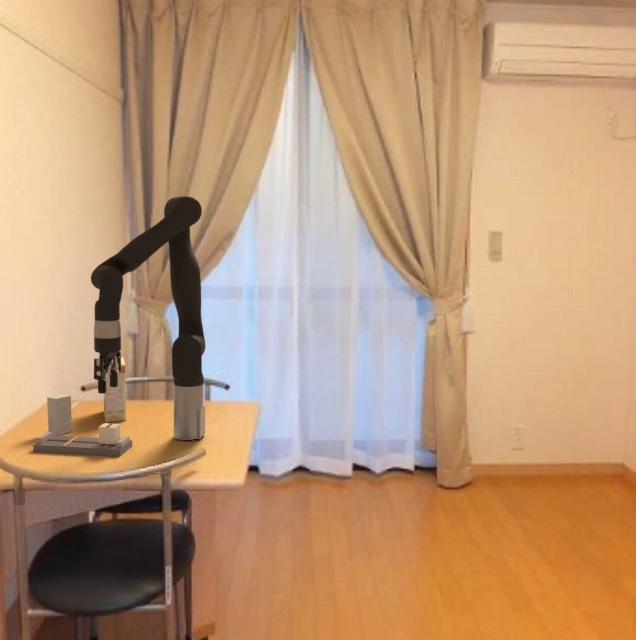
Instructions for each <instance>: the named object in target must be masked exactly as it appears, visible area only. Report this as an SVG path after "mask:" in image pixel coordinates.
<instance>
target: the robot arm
mask: <svg viewBox="0 0 636 640" xmlns="http://www.w3.org/2000/svg"><path fill="white" fill-rule="evenodd" d="M202 212H203V209H202V205H201V202H200V201H199V200H198V199H196V198H195V197H194V196H189V195H181V196H175V197H171V198H170V199H168V201H167V202H166V203H165V205H164V209H163V214H164V217H163V218H162V219H161V220H159V221H158V222H157V223H156V224H154V225H153V226H151V227H150V228H148V229H147V230H145V231H143V232H142V233H139V235H137V236H136V237H134V238H133V239H131V241H129V242H128V243H127V244H126V245H125V246H124V247H122V248H121V249H120V250H119V251H118V252H117V253H116V254H113V256H110V257H109V258H108V259H106V260H104V261H103V262H102V263H100V264H99V265H98V266H96V267H95V268H94V270H92V272H91V276H90V282H91V284H92V286H93V287H94V288H96V289H98V290H99V293H98V300H96V301H95V302H94V325H93V349H94V352H95V353H98V355H99V357H98V358H94V359H93V379H94V380H96V381H97V394H103V395H104V393H106V378H107V375H108V374H109V373H110V387H117V386H118V375H117V374H119V371H121V357H122V353H121V352H122V325H121V309H120V305H121V300H122V296H123V289H124V276H125V275H127V274H128V273H132V272H134V271H135V270H137V269H138V268H140V266H142V265H143V264H144V263H145V262H147V260H148V259H150V257H152V256H153V255H154V254H155V253H156V252H157V251H158V250H160V249H161V248H162V247H163V246H164V245H165V244H167V243H168V256H169V257H168V258H169V268H170V269H169V278H170V289H171V296H172V299H173V302H174V307H175V309H176V314H177V318H178V319H177V320H178V334H177V335H178V336H177V338H176V339H174V341H173V343H172V347H171V370H172V371H171V372H172V377H173V378H172V379H173V438H174V439H176V440H177V439H178V441H182V440H192V441H194V440H193V439H200V438H201V437H202V436H203V435H204V434H205V435H206V406H205V405H204V390H205V387H204V384H205V383H204V379H205V378H204V377H205V376H204V374H203V370H202V369H203V367H202V366H203V364H202V363H203V359H202V356H203V355H204V354H205V351H206V339H205V335H204V327H203V320H202V281H201V279H202V278H201V268H200V265H199V261H198V259H197V257H196V254H195V251H194V249H193V246H192V242H191V241H192V240H191V227H192V226H194V225H195V224H196V223H198V222H199V221H200V218H201V217H202V214H203V213H202ZM205 435H204V436H205ZM204 436H203V437H204Z"/></svg>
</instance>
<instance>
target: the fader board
mask: <svg viewBox="0 0 636 640" xmlns="http://www.w3.org/2000/svg"><path fill="white" fill-rule="evenodd" d="M36 439H37V442H35V443H34V444H32V445H33V447H32V449H33V452H36V453H37V452H38V453H53V454H57V453H59V454H68V455H69V454H71V455H74V454H75V455H76V454H77V455H90V456H104V457H105V456H108V457H121V456H122V455H124V454H125V453H126V452H127V451H128V450H129V449H131V448H132V447H133V439H132V438H130V436H127V435H126V436H124V435H123V436H122V437H121V439H120V440H119V441H117V442H116V444H99V437H94V436H93V437H92V436H74V435H52V432H48V431H47V432H44V433H43V434H41V435H39V436H38V437H37V438H36Z"/></svg>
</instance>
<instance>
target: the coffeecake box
mask: <svg viewBox="0 0 636 640" xmlns="http://www.w3.org/2000/svg"><path fill="white" fill-rule="evenodd" d="M117 375H118V386H117V387H110V373H109V374H108V375H107V378H106V393H104V394H103V410H104V411H103V412H104V413H103V414H104V420H105V423H108V422H109V423H111V422H123V421H124V422H125V421H126V420H127V417H126V415H127V408H126V405H127V401H126V400H127V398H126V397H127V394H126V393H127V391H126V362H125V359H124V357H123V356H121V371H119V374H117Z"/></svg>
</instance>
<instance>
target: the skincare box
mask: <svg viewBox="0 0 636 640" xmlns="http://www.w3.org/2000/svg"><path fill="white" fill-rule="evenodd" d="M71 397H72V395H70V394H67V393H66V394H65V393H60V394H56V395H52V396H51V395H50V396H48V397H47V398H46V401H47V403H46V405H47V424H48V425H47V427H48V428H47V429H48V431H47V432H52V435H59V436H63V435H64V434H67V433H71V432H73V423H72V398H71Z"/></svg>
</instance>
